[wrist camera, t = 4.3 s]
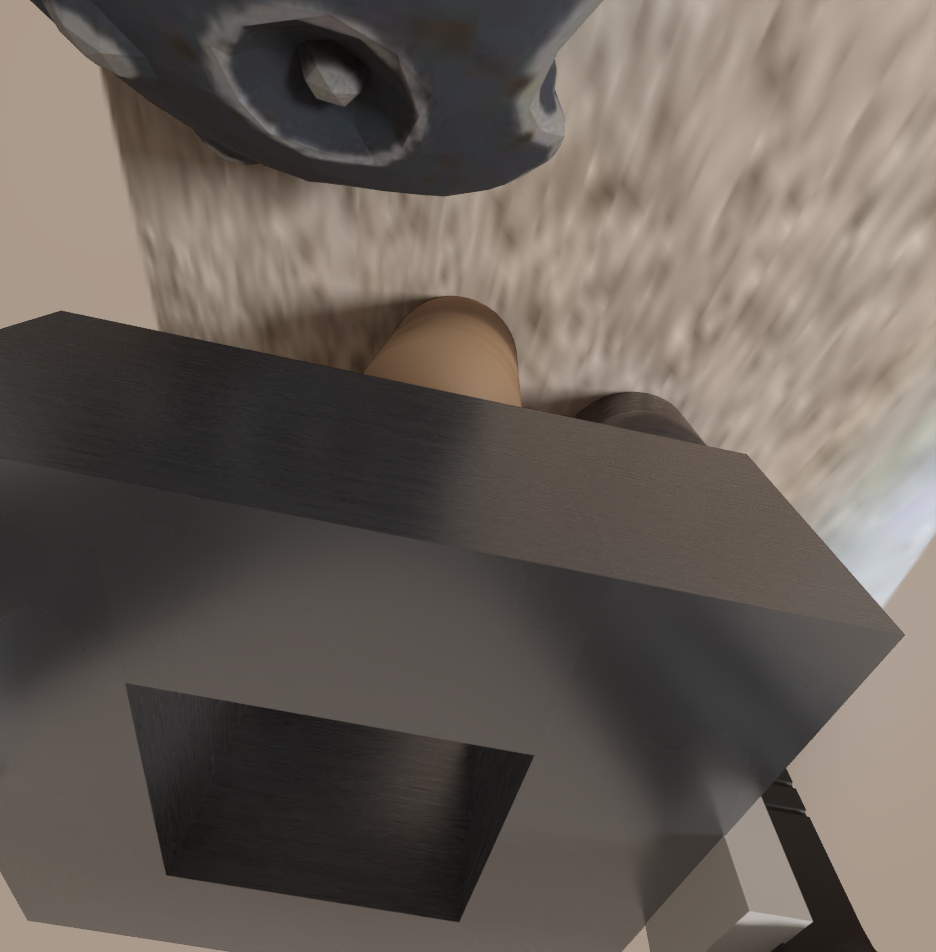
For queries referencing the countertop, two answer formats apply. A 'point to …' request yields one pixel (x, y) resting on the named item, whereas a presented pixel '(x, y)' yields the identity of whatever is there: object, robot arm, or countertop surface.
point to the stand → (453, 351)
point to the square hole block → (381, 653)
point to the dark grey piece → (347, 82)
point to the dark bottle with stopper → (641, 416)
